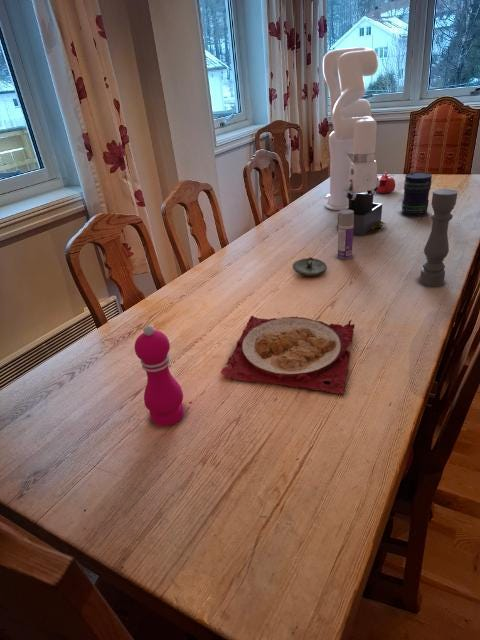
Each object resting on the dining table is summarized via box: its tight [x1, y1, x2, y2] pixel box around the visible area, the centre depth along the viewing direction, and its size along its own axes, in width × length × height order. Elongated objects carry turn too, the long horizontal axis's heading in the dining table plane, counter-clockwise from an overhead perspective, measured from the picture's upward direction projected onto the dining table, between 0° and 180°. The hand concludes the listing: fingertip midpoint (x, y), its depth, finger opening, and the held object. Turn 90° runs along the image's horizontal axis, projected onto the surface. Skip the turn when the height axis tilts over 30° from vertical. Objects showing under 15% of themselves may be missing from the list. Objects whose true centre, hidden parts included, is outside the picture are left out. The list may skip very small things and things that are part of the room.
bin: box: [337, 192, 383, 236], centre depth 160 cm, size 17×10×12 cm, turn 142°
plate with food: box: [220, 315, 356, 395], centre depth 96 cm, size 24×26×3 cm
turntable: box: [353, 224, 382, 236], centre depth 164 cm, size 16×16×1 cm
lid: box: [292, 257, 328, 277], centre depth 133 cm, size 11×10×5 cm
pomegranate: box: [375, 171, 396, 194], centre depth 202 cm, size 10×10×9 cm
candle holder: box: [419, 188, 458, 288], centre depth 114 cm, size 6×6×25 cm
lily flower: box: [372, 220, 386, 229], centre depth 163 cm, size 12×12×5 cm
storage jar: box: [400, 171, 433, 218], centre depth 169 cm, size 10×10×15 cm
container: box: [337, 210, 354, 260], centre depth 137 cm, size 5×5×15 cm
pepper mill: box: [134, 324, 185, 427], centre depth 77 cm, size 7×7×20 cm
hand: (360, 207), depth 160 cm, fingers open, 7 cm apart
